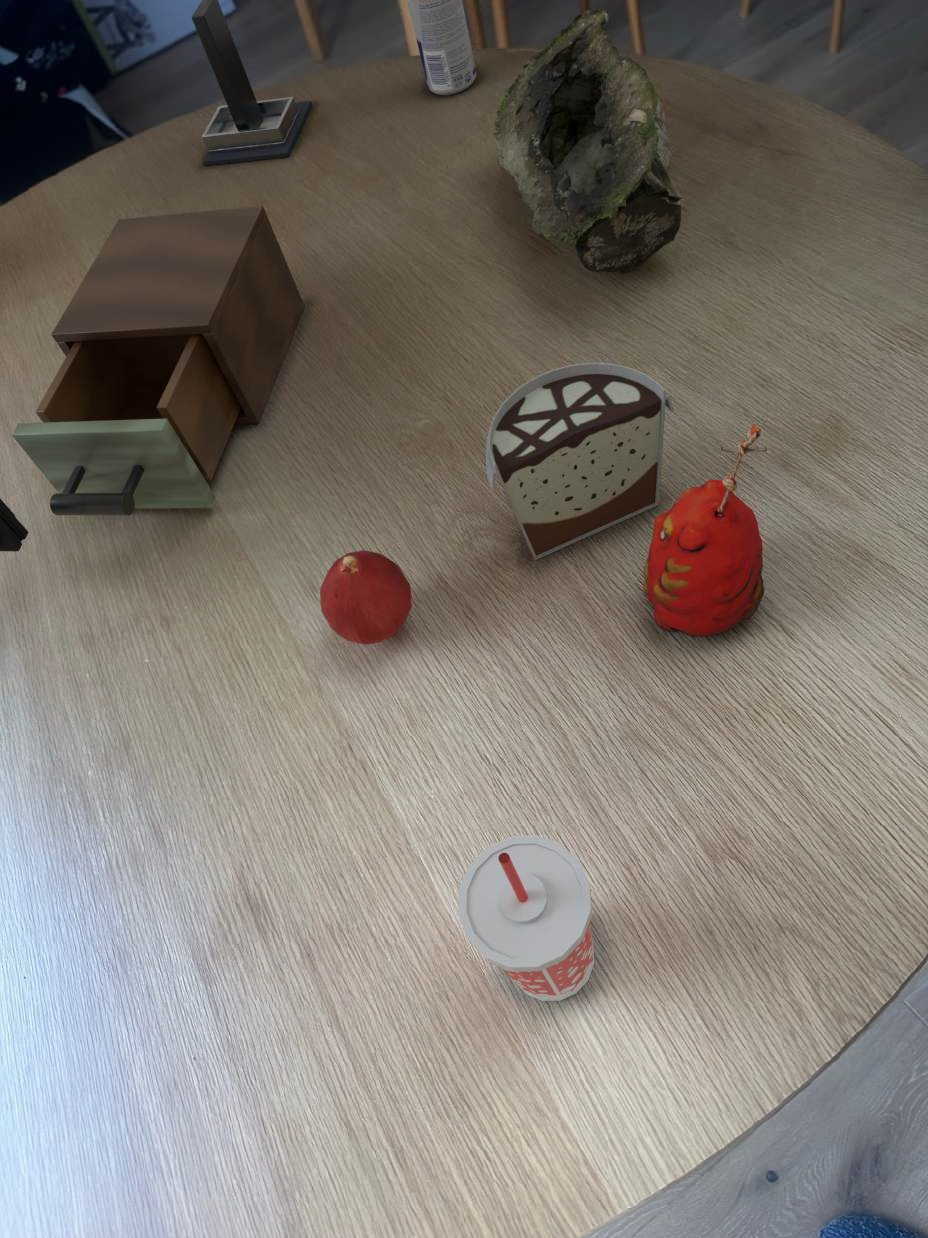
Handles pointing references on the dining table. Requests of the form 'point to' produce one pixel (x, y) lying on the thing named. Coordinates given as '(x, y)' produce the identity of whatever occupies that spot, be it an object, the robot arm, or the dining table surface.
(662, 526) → the red clay folk toy
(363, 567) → the onion
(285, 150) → the desk mat
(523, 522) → the food container
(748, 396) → the dining table surface
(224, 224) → the cabinet
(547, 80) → the mossy hollow log
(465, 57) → the energy drink
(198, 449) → the drawer
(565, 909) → the beverage cup
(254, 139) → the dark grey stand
